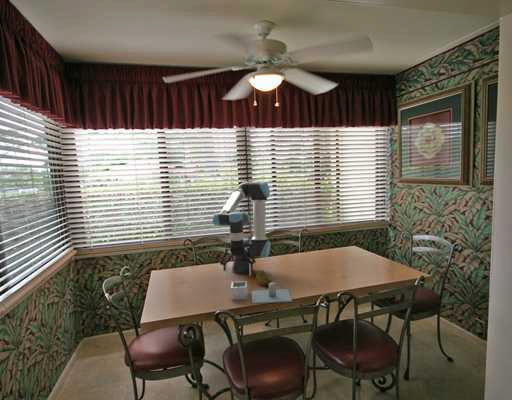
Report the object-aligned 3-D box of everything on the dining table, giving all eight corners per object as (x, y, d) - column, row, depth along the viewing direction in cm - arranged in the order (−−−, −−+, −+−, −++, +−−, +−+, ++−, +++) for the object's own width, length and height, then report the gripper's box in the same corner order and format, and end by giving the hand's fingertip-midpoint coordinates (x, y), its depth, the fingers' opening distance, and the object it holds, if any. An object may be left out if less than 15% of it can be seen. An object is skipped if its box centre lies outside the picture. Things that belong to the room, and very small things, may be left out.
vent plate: (251, 291, 177) (251, 279, 176) (287, 289, 178) (287, 277, 177) (252, 303, 161) (251, 290, 160) (292, 301, 162) (291, 288, 161)
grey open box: (232, 293, 176) (231, 281, 176) (247, 292, 177) (246, 281, 176) (231, 299, 167) (231, 287, 167) (247, 298, 168) (246, 287, 167)
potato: (259, 288, 181) (258, 276, 180) (255, 281, 194) (255, 269, 193) (272, 287, 183) (272, 274, 182) (267, 279, 195) (267, 268, 195)
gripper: (214, 241, 164) (216, 278, 166) (259, 239, 165) (260, 276, 167) (215, 238, 172) (217, 274, 174) (258, 237, 173) (259, 272, 174)
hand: (238, 275), depth 170 cm, fingers open, 13 cm apart
